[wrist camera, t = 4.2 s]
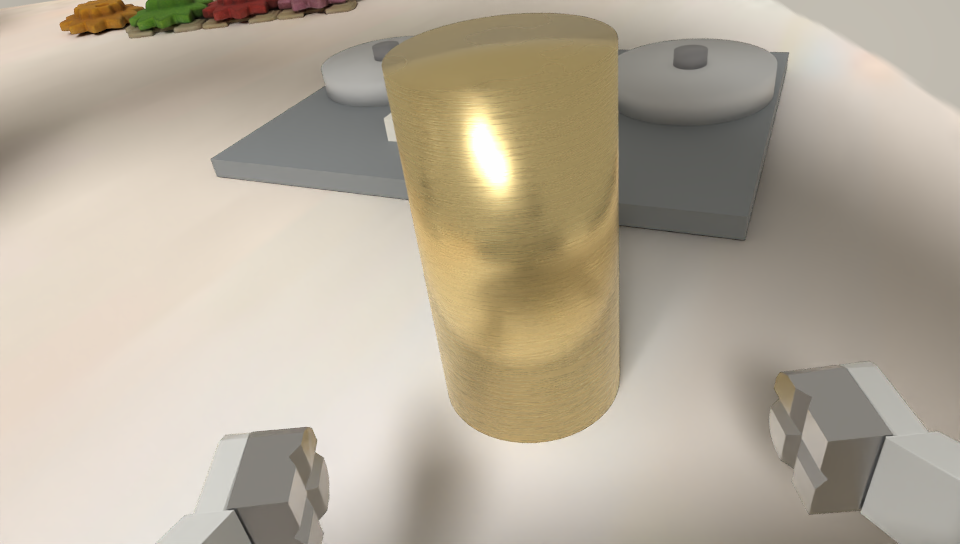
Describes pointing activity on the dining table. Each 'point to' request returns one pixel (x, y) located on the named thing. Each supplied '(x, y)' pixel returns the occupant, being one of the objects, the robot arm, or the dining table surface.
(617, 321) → the brushed brass cylinder
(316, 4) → the gear puzzle
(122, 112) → the dining table surface
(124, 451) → the dining table surface
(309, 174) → the grey holder tray
